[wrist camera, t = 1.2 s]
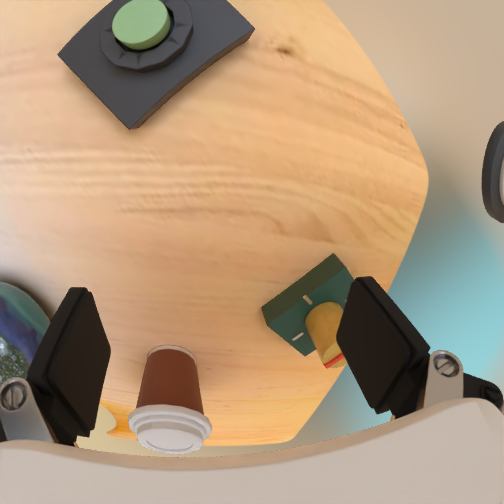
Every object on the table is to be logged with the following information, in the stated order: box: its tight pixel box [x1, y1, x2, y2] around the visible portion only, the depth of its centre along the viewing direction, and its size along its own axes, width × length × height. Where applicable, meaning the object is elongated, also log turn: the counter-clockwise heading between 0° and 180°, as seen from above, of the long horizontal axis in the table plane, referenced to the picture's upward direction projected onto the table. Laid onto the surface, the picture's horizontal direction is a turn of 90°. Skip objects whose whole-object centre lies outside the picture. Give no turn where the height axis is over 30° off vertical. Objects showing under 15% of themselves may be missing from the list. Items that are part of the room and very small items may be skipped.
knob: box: [305, 302, 348, 368], centre depth 27 cm, size 4×4×6 cm
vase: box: [0, 281, 51, 386], centre depth 21 cm, size 15×15×13 cm
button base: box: [57, 0, 255, 130], centre depth 15 cm, size 12×10×5 cm
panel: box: [262, 253, 355, 356], centre depth 31 cm, size 10×9×3 cm
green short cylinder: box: [112, 0, 171, 50], centre depth 12 cm, size 4×4×2 cm
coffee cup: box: [128, 345, 212, 454], centre depth 28 cm, size 9×9×12 cm
